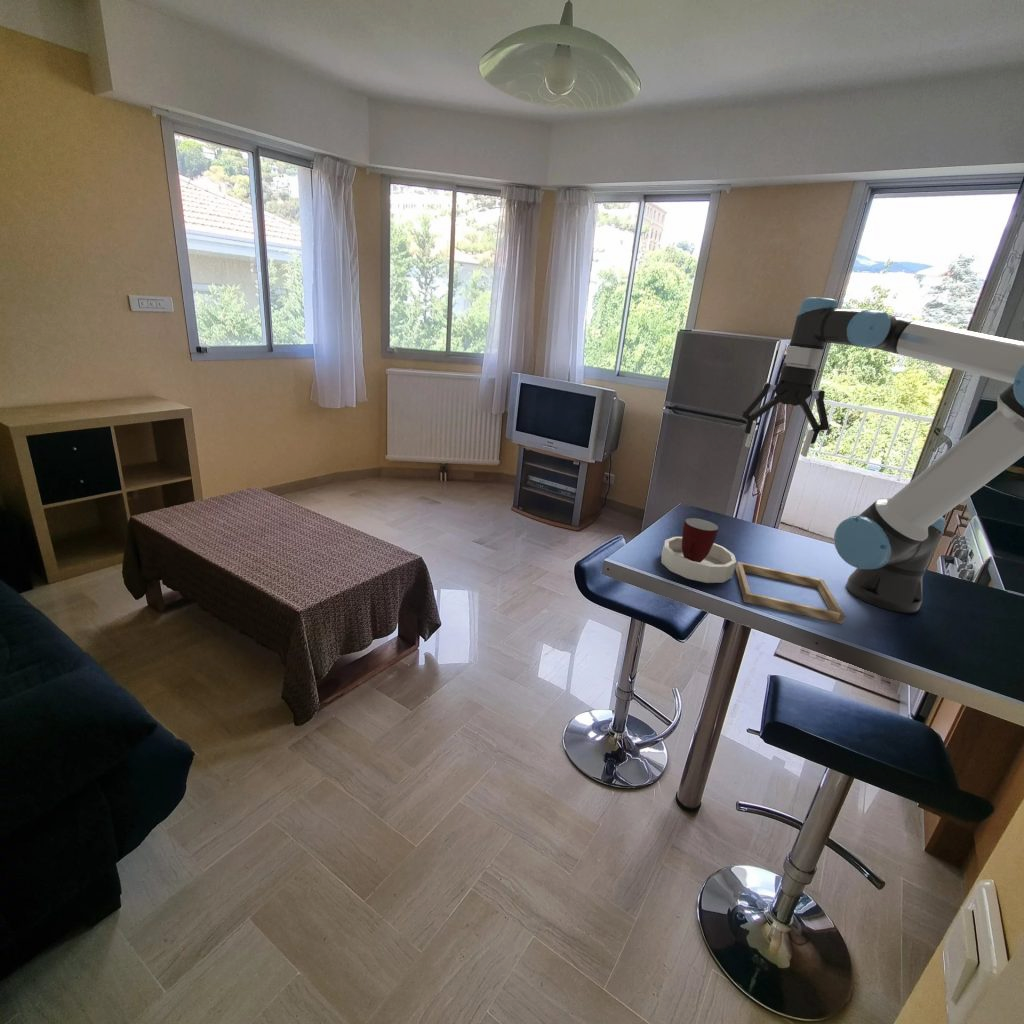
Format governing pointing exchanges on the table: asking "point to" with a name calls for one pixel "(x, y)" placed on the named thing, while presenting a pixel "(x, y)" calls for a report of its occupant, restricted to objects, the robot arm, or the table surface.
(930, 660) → the table surface
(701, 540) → the mug
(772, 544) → the table surface
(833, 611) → the frame tray
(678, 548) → the bowl
